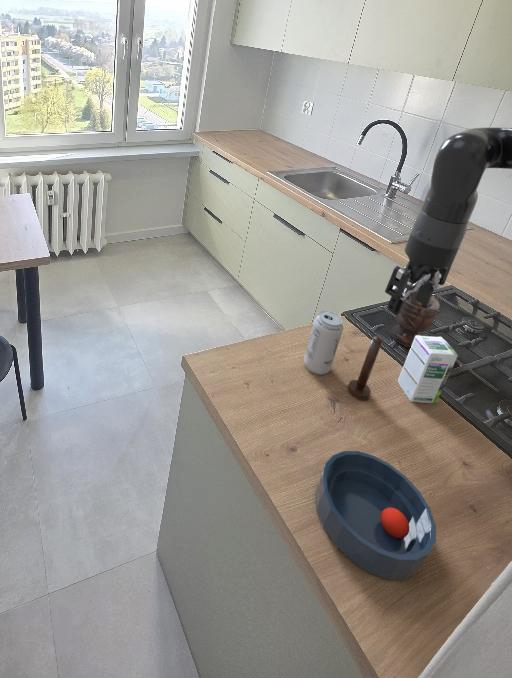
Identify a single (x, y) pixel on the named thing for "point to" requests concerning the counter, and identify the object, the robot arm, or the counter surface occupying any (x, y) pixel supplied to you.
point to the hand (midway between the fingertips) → (407, 307)
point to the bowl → (373, 514)
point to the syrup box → (426, 369)
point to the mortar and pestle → (413, 319)
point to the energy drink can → (323, 342)
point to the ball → (394, 523)
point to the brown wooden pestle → (365, 372)
